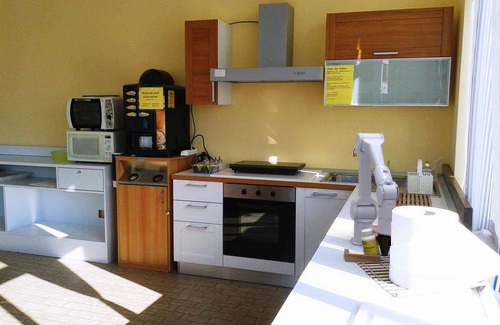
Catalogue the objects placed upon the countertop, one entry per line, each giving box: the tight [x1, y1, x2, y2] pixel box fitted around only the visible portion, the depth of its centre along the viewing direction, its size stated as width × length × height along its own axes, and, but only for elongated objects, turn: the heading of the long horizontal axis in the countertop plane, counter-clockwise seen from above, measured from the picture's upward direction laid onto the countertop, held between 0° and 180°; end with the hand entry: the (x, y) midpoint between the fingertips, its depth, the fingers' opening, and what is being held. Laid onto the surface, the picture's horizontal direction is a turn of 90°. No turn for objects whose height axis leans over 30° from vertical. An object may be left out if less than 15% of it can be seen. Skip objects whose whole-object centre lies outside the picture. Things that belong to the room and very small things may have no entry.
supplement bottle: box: [361, 229, 381, 256], centre depth 173 cm, size 5×5×10 cm
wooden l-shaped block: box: [343, 248, 382, 264], centre depth 172 cm, size 8×12×2 cm, turn 82°
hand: (384, 255), depth 171 cm, fingers closed
